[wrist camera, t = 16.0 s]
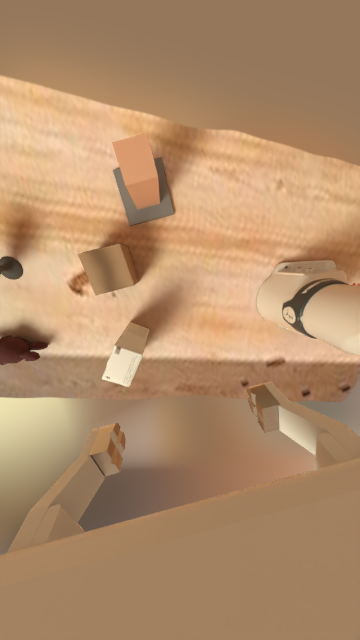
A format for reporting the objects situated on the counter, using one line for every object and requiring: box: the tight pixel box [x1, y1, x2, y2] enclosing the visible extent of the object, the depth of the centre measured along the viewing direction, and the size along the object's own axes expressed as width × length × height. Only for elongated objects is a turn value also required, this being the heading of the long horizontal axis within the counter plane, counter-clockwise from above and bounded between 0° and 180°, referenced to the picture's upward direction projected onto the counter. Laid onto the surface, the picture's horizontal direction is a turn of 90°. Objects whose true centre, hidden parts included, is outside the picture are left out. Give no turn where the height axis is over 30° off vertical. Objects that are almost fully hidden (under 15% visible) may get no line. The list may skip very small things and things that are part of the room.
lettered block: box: [78, 243, 139, 295], centre depth 36 cm, size 8×8×8 cm
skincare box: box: [102, 322, 150, 387], centre depth 39 cm, size 8×6×15 cm
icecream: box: [0, 336, 48, 365], centre depth 41 cm, size 7×7×15 cm
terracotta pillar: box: [112, 133, 160, 210], centre depth 29 cm, size 5×5×12 cm
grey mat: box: [113, 158, 174, 226], centre depth 35 cm, size 10×10×1 cm
